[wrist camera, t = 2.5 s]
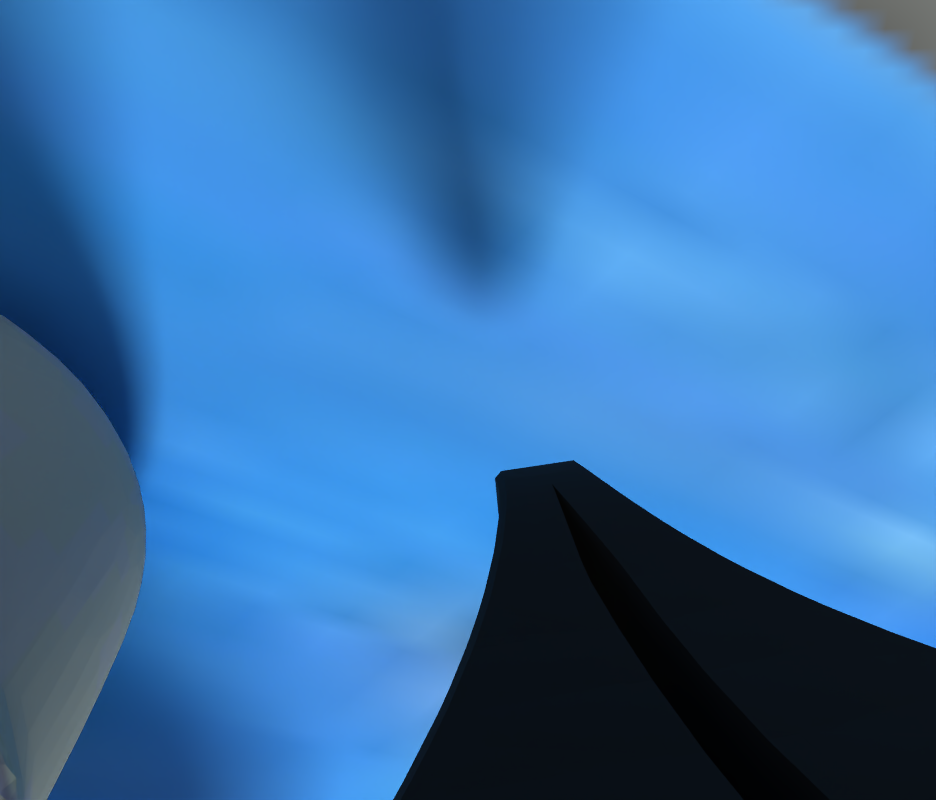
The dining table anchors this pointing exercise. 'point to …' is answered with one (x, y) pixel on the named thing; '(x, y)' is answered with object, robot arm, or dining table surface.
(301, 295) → the dining table surface
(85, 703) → the teacup
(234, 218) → the dining table surface
